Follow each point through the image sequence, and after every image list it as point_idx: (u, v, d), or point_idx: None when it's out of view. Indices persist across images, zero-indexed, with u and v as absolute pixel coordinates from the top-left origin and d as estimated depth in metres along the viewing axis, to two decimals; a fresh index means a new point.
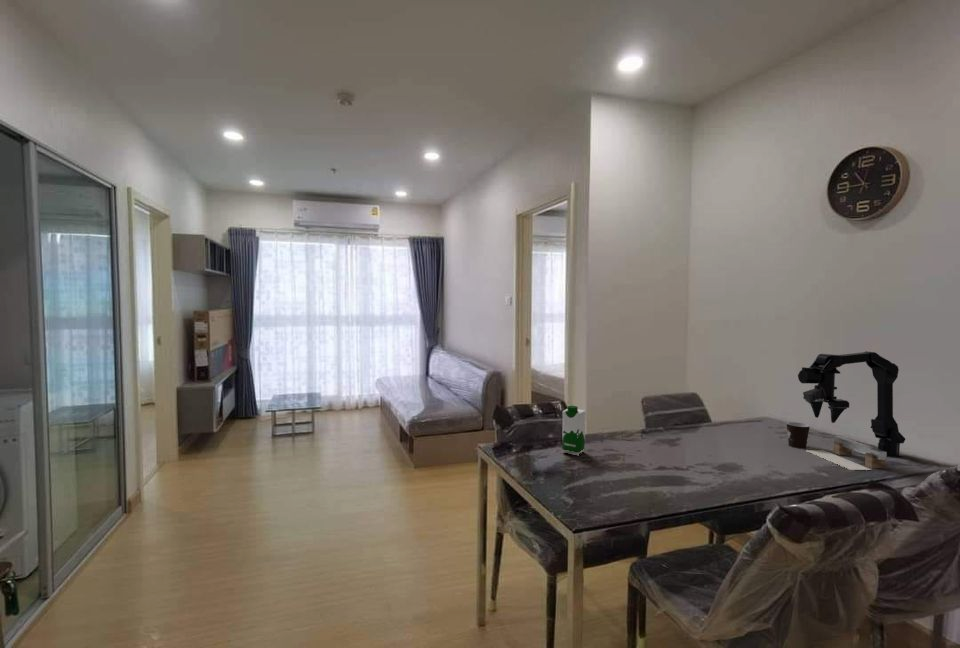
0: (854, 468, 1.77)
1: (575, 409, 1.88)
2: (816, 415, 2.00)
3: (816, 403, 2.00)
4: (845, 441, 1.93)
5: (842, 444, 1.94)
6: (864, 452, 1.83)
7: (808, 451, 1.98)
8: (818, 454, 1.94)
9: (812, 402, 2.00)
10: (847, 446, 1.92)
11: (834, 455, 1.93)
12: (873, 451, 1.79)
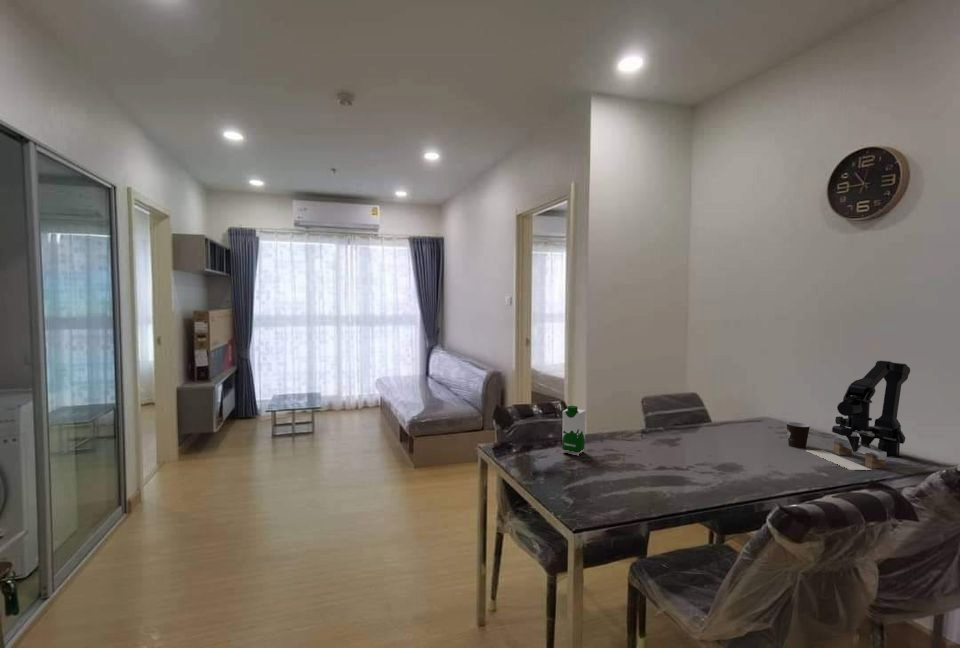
0: (854, 468, 1.77)
1: (575, 409, 1.88)
2: None
3: (864, 436, 1.87)
4: (845, 441, 1.93)
5: (842, 444, 1.94)
6: (864, 452, 1.83)
7: (808, 451, 1.98)
8: (818, 454, 1.94)
9: (860, 434, 1.89)
10: (847, 446, 1.92)
11: (834, 455, 1.93)
12: (873, 451, 1.79)
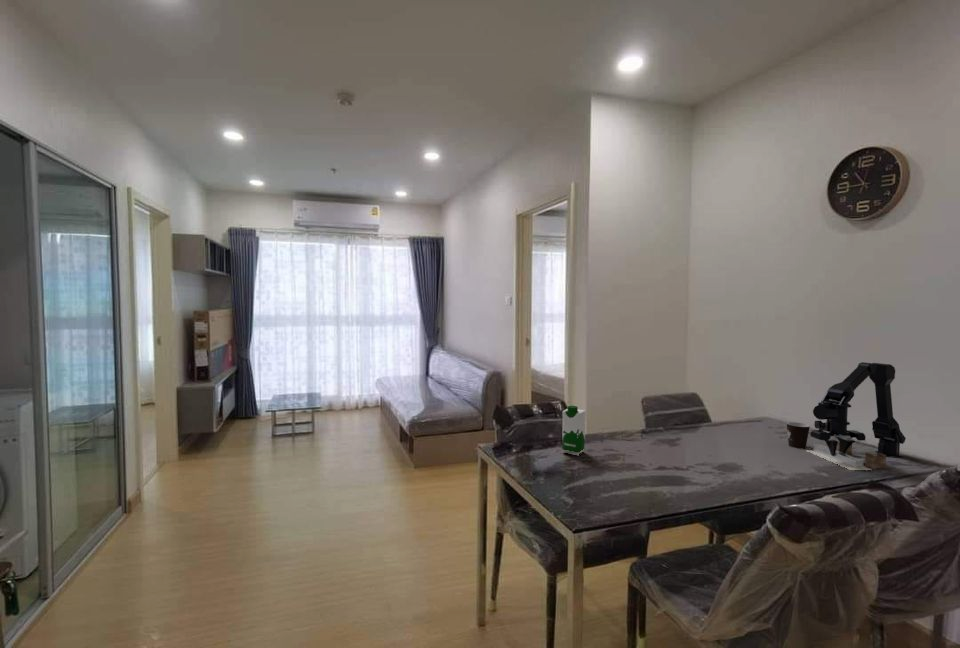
0: (854, 468, 1.77)
1: (575, 409, 1.88)
2: None
3: (842, 441, 1.87)
4: (824, 449, 1.93)
5: (821, 452, 1.94)
6: (842, 461, 1.83)
7: (808, 451, 1.98)
8: (818, 454, 1.94)
9: (839, 439, 1.89)
10: (826, 454, 1.92)
11: None
12: (850, 460, 1.79)
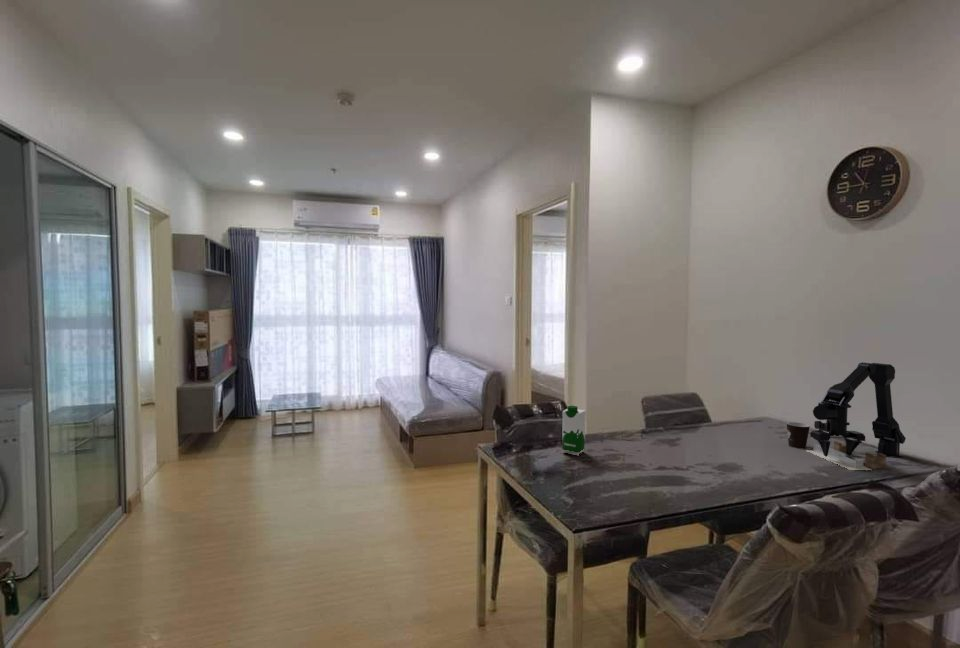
0: (854, 468, 1.77)
1: (575, 409, 1.88)
2: (847, 454, 1.88)
3: (849, 441, 1.87)
4: None
5: (821, 452, 1.94)
6: (842, 461, 1.83)
7: (808, 451, 1.98)
8: (818, 454, 1.94)
9: (846, 439, 1.89)
10: None
11: None
12: (850, 460, 1.79)
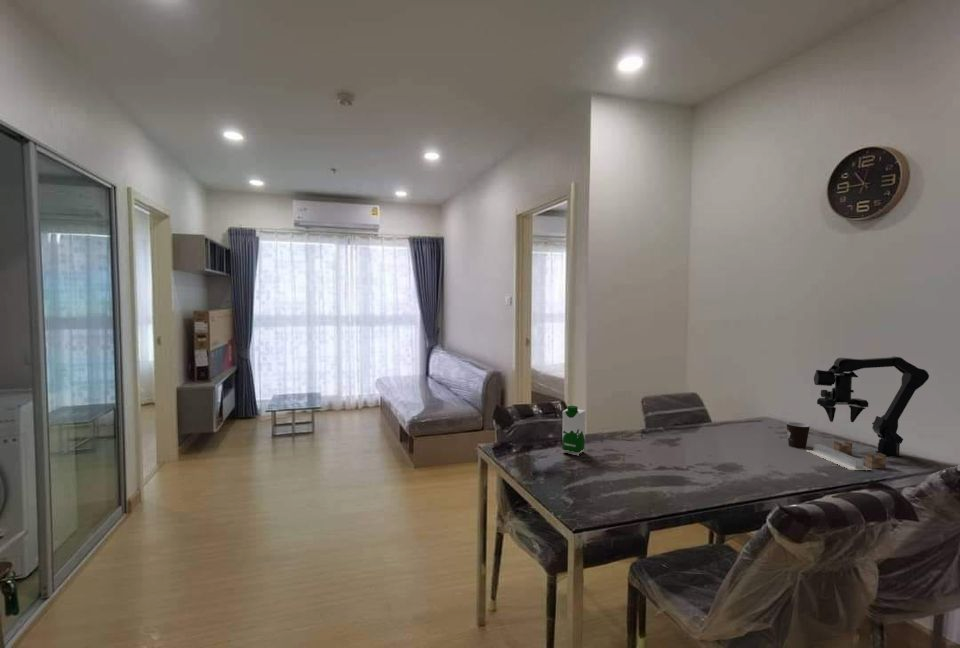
0: (854, 468, 1.77)
1: (575, 409, 1.88)
2: (851, 419, 2.02)
3: (853, 408, 2.01)
4: (824, 449, 1.93)
5: (821, 452, 1.94)
6: (842, 461, 1.83)
7: (808, 451, 1.98)
8: (818, 454, 1.94)
9: (850, 406, 2.03)
10: (826, 454, 1.92)
11: None
12: (850, 460, 1.79)
